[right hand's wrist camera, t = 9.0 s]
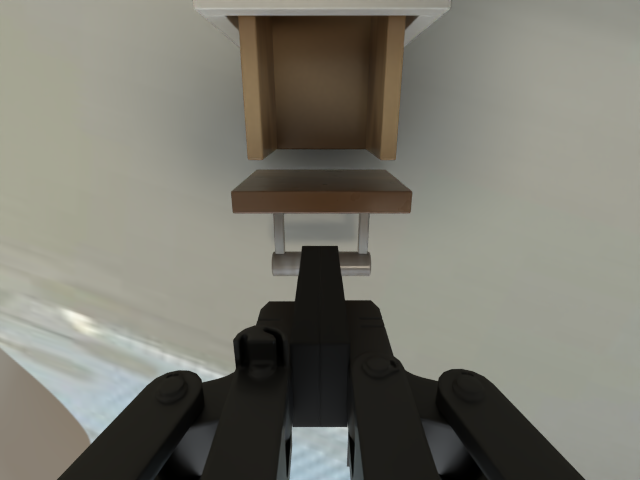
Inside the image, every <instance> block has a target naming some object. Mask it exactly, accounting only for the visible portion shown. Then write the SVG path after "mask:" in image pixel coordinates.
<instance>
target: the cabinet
mask: <svg viewBox="0 0 640 480" xmlns="http://www.w3.org/2000/svg"><path fill="white" fill-rule="evenodd" d="M193 7H194V9H195V10H196V11H197V12H198V13H199V14H201V15H202V16H203V17H204V18H205V19H206V20H208V21H209V22H210V23H211V24H212V25H214V26H215V27H216V28H217V29H218V30H219V31H221V32H222V33H223V34H224V35H225V36H227V37H228V38H229V39H230V40H231V41H232V42H234V43H235V44H236V45H237V46H238V47H240V39H239V24H238V16H306V15H406V23H405V37H404V47H405V46H406V45H407V44H408V43H409V42H411V41H412V40H413V39H414V38H416V37H417V36H418V35H419V34H420V33H422V32H423V31H424V30H425V29H426V28H428V27H429V26H430V25H431V24H433V23H434V22H435V21H436V20H437V19H439V18H440V17H441V16H442V15H443V14H444V13H446V12H447V11H448V10H449V9H450V8H451V0H193Z"/></svg>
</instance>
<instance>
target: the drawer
mask: <svg viewBox="0 0 640 480" xmlns="http://www.w3.org/2000/svg"><path fill="white" fill-rule="evenodd" d="M405 23H406V15H306V16H238V24H239V39H240V53H241V68H242V82H243V97H244V111H245V125H246V140H247V154H248V159H249V160H263V159H264V158H266V157H267V156H268V155H269V154H271V153H272V152H273V151H275V150H276V149H366V150H368V151H369V152H371V153H372V154H373V155H375V156H376V157H377V158H379V159H380V160H395V159H396V148H397V134H398V120H399V107H400V93H401V79H402V65H403V51H404V37H405ZM231 197H232V209H233V213H273V215H274V236H275V252H273V255H272V273H273V276H298V275H299V267H300V260H301V252H285V234H284V213H359V229H358V252H339V260H340V267H341V275H342V276H369V275H370V272H371V256H370V253H369V252H368V232H369V213H410V212H411V202H412V191H411V190H410V189H408V188H407V187H406V186H405V185H404V184H402V183H401V182H400V181H399V180H398V179H396V178H395V177H394V176H393V175H391V174H390V173H389V172H388V171H387V170H256V171H255V172H254V173H253V174H251V175H250V176H249V177H248V178H247V179H246V180H244V181H243V182H242V183H241V184H240V185H238V186H237V187H236V188H235V189H234V190H233V191H231Z"/></svg>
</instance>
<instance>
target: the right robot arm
mask: <svg viewBox="0 0 640 480" xmlns="http://www.w3.org/2000/svg"><path fill="white" fill-rule="evenodd" d="M233 343H234V353H235V363H236V370H235V372H234V373H232V374H230V375H228V376H225V377H222V378H219V379H215V380H211V381H207V382H203V383H202V380H201V378H200V377H199V376H198V375H197V374H196V373H193V372H191V371H181V370H178V371H174V372H169V373H166V374H164V375H162V376H160V377H158V378H156V379H155V380H153V381H152V382H151V383H150V384H148V385H147V386H146V387H145V388H144V389H143V390H142V391H141V392H140V393H139V395H138V396H137V397H136V398H135V399H134V400H133V401H132V402H131V403H130V404H129V405H128V406H127V407H126V408H125V409H124V410H123V411H122V412H121V413H120V414H119V415H118V416H117V418H116V419H115V420H114V421H113V422H112V423H111V424H110V425H109V426H108V427H107V428H106V429H105V430H104V431H103V432H102V433H101V434H100V435H99V436H98V437H97V438H96V439H95V441H94V442H93V443H92V444H91V445H90V446H89V447H88V448H87V449H86V450H85V451H84V452H83V453H82V454H81V455H80V456H79V457H78V458H77V459H76V460H75V461H74V462H73V464H72V465H71V466H70V467H69V468H68V469H67V470H66V471H65V472H64V473H63V474H62V475H61V476H60V477H59V478H58V479H57V480H289V478H290V466H291V453H292V425H293V427H347V425H348V455H347V466H350V478H351V480H585V479H584V478H583V477H582V476H581V475H580V474H579V473H578V472H577V471H576V470H575V468H574V467H573V466H572V465H571V464H570V463H569V462H568V461H567V460H566V459H565V458H564V457H563V456H562V455H561V454H560V453H559V452H558V451H557V450H556V449H555V448H554V447H553V446H552V445H551V444H550V442H549V441H548V440H547V439H546V438H545V437H544V436H543V435H542V434H541V433H540V432H539V431H538V430H537V429H536V428H535V427H534V426H533V425H532V424H531V423H530V422H529V421H528V420H527V419H526V418H525V417H524V415H523V414H522V413H521V412H520V411H519V410H518V409H517V408H516V407H515V406H514V405H513V404H512V403H511V402H510V401H509V400H508V399H507V398H506V397H505V396H504V395H503V394H502V393H501V392H500V391H499V389H498V388H497V387H496V386H495V385H494V384H493V383H491V382H490V381H489V380H488V379H486V378H485V377H484V376H482V375H479V374H477V373H475V372H473V371H469V370H464V369H451V370H448V371H446V372H443V374H442V375H441V376H440V377H439V380H438V381H435V380H430V379H426V378H422V377H419V376H416V375H413V374H411V373H409V372H407V371H406V370H405V369H404V367H403V365H402V364H401V362H400V361H399V360H398V359H397V358H395V357H394V356H393V353H392V349H391V346H390V343H389V339H388V336H387V333H386V329H385V327H384V323H383V320H382V316H381V313H380V309H379V308H378V307H377V306H376V305H375V304H374V303H373V302H372V301H371V300H345V298H344V290H343V283H342V275H341V267H340V260H339V252H338V246H302V252H301V260H300V267H299V275H298V283H297V290H296V298H295V301H269V302H268V303H267V304H266V305H265V306H264V307H263V308H262V309H261V311H260V314H259V317H258V321H257V324H256V326H252V327H249V328H246V329H244V330H243V331H241V332H240V333H238V334H237V336H236V337H235V338H234V340H233Z"/></svg>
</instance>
